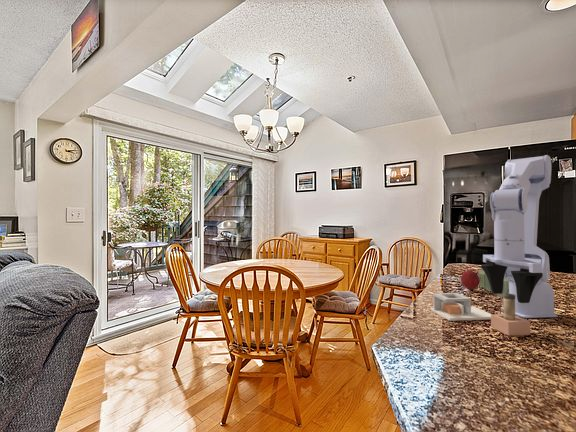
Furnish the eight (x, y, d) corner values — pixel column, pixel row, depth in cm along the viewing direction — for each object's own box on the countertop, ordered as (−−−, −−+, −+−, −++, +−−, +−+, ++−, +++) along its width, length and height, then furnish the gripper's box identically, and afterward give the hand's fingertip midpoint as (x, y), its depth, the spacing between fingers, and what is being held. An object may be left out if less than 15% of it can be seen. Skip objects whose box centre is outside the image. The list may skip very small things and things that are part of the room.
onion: (483, 292, 103) (483, 269, 103) (467, 292, 103) (466, 269, 103) (473, 288, 109) (473, 266, 109) (457, 288, 109) (457, 266, 109)
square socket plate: (473, 308, 85) (473, 290, 86) (497, 319, 77) (497, 299, 77) (430, 309, 85) (430, 292, 85) (449, 320, 76) (449, 301, 76)
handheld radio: (487, 286, 112) (528, 306, 87) (477, 286, 112) (515, 306, 88) (486, 269, 112) (527, 284, 87) (476, 269, 112) (514, 284, 88)
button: (453, 310, 82) (453, 303, 82) (459, 313, 79) (459, 306, 79) (443, 310, 82) (443, 303, 82) (449, 314, 79) (449, 306, 79)
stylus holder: (511, 326, 72) (511, 313, 72) (530, 334, 66) (530, 321, 66) (491, 326, 71) (491, 314, 71) (508, 335, 66) (508, 322, 66)
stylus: (510, 328, 70) (509, 293, 70) (518, 332, 68) (517, 295, 68) (500, 329, 70) (500, 293, 70) (508, 332, 68) (508, 296, 68)
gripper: (471, 238, 76) (472, 290, 76) (519, 243, 61) (520, 308, 61) (497, 237, 76) (498, 289, 76) (550, 242, 62) (551, 306, 62)
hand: (509, 297), depth 69 cm, fingers open, 7 cm apart
